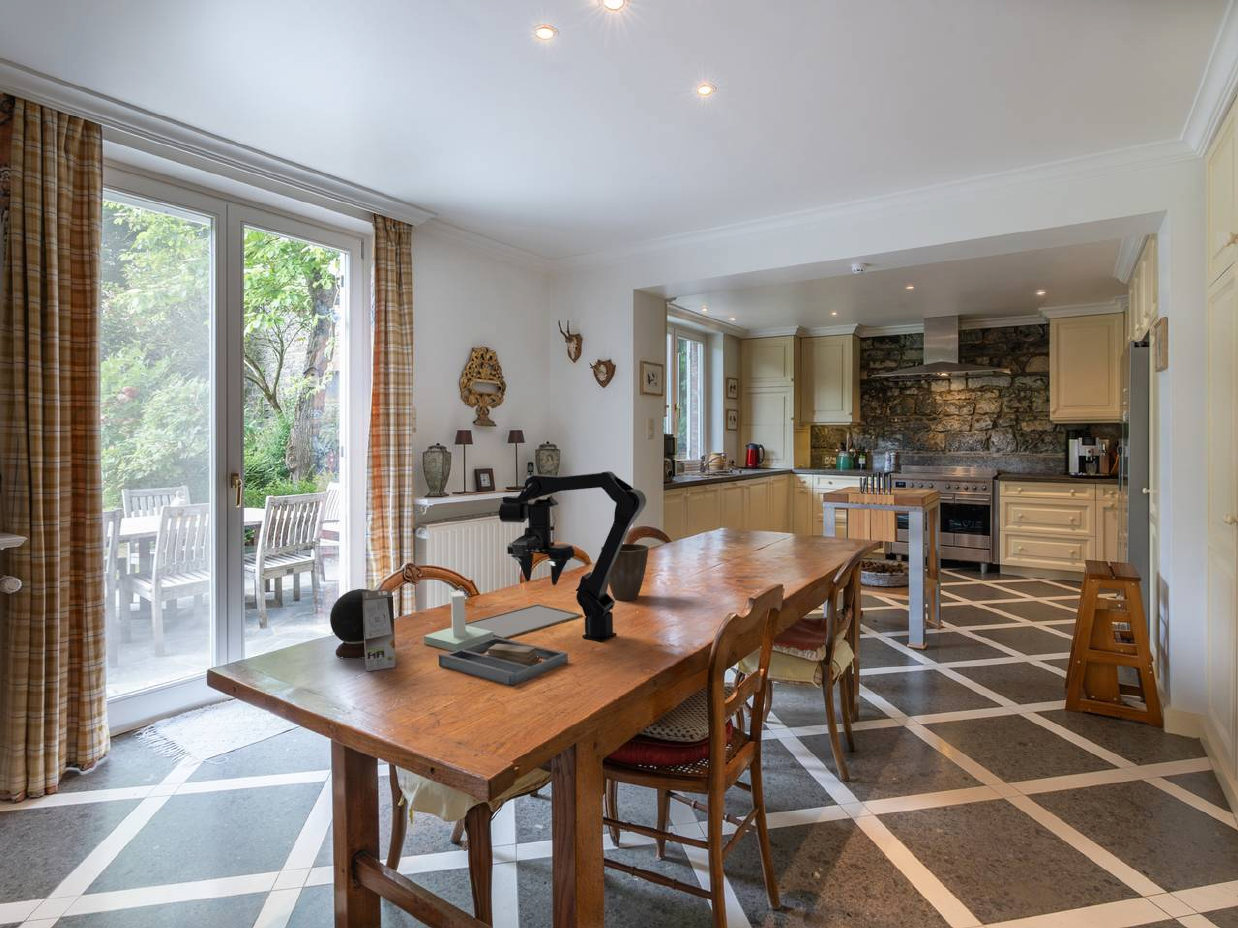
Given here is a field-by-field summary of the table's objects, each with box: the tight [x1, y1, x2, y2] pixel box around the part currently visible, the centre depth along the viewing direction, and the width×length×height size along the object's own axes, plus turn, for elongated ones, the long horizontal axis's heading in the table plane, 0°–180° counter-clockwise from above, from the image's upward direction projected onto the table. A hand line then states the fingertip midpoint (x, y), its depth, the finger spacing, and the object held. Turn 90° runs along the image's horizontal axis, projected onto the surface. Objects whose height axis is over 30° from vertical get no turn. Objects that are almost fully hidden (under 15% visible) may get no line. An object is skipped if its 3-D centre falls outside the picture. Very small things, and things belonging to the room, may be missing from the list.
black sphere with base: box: [329, 588, 372, 659], centre depth 162 cm, size 13×13×15 cm
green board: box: [423, 626, 494, 652], centre depth 168 cm, size 12×12×2 cm
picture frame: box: [466, 603, 583, 640], centre depth 186 cm, size 19×1×28 cm
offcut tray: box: [438, 637, 569, 687], centre depth 151 cm, size 23×18×2 cm
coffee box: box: [363, 588, 396, 672], centre depth 152 cm, size 9×6×16 cm
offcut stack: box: [482, 644, 541, 666], centre depth 152 cm, size 12×5×4 cm, turn 73°
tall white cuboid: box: [450, 591, 466, 637], centre depth 168 cm, size 5×3×10 cm, turn 18°
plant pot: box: [600, 543, 649, 602], centre depth 210 cm, size 15×15×16 cm
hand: (540, 582), depth 174 cm, fingers open, 9 cm apart
